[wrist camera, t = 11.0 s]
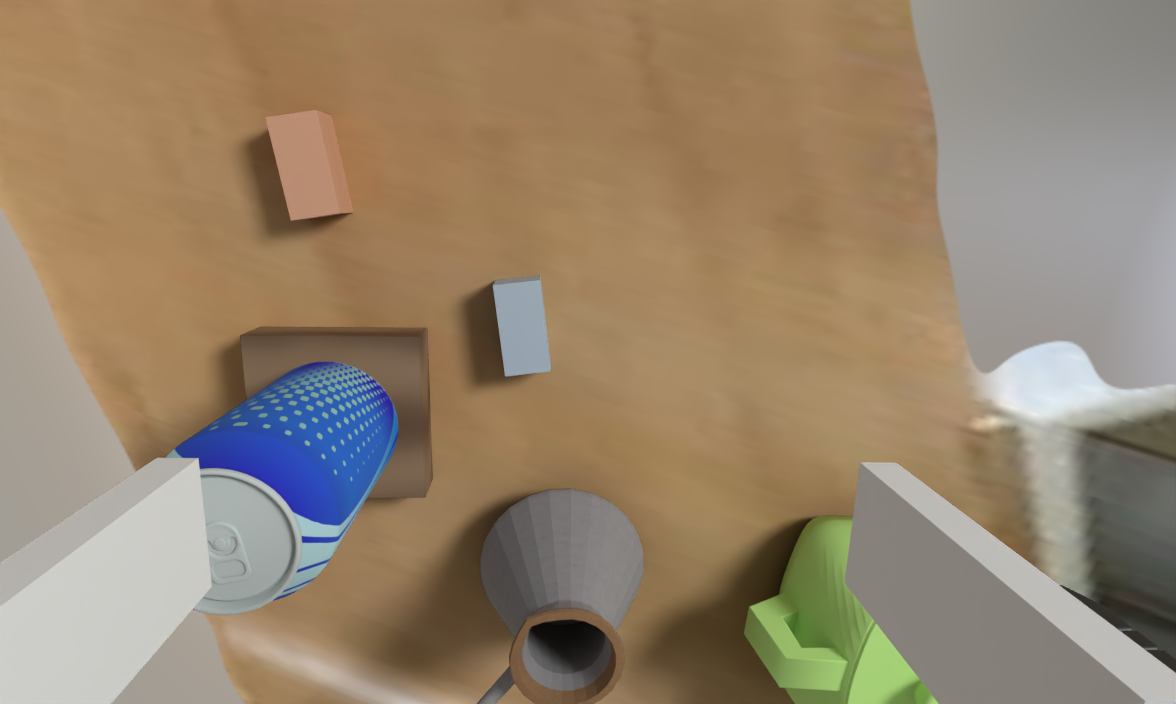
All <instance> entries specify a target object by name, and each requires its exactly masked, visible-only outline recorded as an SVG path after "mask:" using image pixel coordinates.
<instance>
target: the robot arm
mask: <svg viewBox="0 0 1176 704" xmlns="http://www.w3.org/2000/svg"><path fill="white" fill-rule="evenodd" d="M844 583H845V584H846V585H847V587H848V588H849V589H850V591H851V592H852V593H853V594H854V596H855V597H856V598H857V600H858V601H859V602H860V603H861V605H862V606H863V607H864V608H865V610H866V611H867V612H868V614H869V615H870V616H871V617H872V619H873V620H874V621H875V623H876V624H877V625H878V626H879V628H880V629H881V630H882V632H883V633H884V634H885V635H886V637H887V638H888V639H889V641H890V642H891V643H892V644H893V646H894V647H895V648H896V650H897V651H898V652H899V653H900V655H901V656H902V657H903V659H904V660H905V661H906V662H907V664H908V665H909V666H910V667H911V669H912V670H913V671H914V673H915V674H916V675H917V676H918V678H919V679H920V680H921V682H922V683H923V684H924V685H925V687H926V688H927V689H928V691H929V692H930V693H931V694H932V696H933V697H934V698H935V700H936V701H937V702H938V703H939V704H1176V659H1174V658H1173V657H1172V656H1170V655H1169V654H1168V653H1166V652H1165V651H1159V650H1158V649H1157V645H1155V644H1154V643H1153V642H1151V641H1150V640H1148V639H1147V638H1146V637H1144V636H1143V635H1142V634H1140V633H1139V632H1138V631H1132V630H1131V626H1129V625H1128V624H1127V623H1125V622H1124V621H1122V620H1121V619H1120V618H1118V617H1117V616H1116V615H1114V614H1113V613H1111V612H1110V611H1109V610H1107V609H1106V608H1105V607H1103V606H1102V605H1101V604H1099V603H1097V602H1095V601H1093V600H1091V599H1089V598H1087V597H1085V596H1083V595H1081V594H1079V593H1077V592H1075V591H1073V590H1071V589H1069V588H1066V587H1064V586H1062V585H1058V584H1057V583H1055V582H1054V581H1053V580H1051V579H1050V578H1049V577H1047V576H1046V575H1045V574H1043V573H1042V572H1041V571H1039V570H1038V569H1037V568H1036V567H1034V566H1033V565H1032V564H1030V563H1029V562H1028V561H1026V560H1025V559H1024V558H1022V557H1021V556H1020V555H1018V554H1017V553H1016V552H1014V551H1013V550H1012V549H1010V548H1009V547H1008V546H1006V545H1005V544H1004V543H1002V542H1001V541H1000V540H998V539H997V538H996V537H994V536H993V535H992V534H990V533H989V532H988V531H986V530H985V529H984V528H982V527H981V526H980V525H978V524H977V523H976V522H974V521H973V520H972V519H970V518H969V517H968V516H966V515H965V514H964V513H962V512H961V511H960V510H958V509H957V508H956V507H954V506H953V505H952V504H950V503H949V502H948V501H946V500H945V499H944V498H942V497H941V496H940V495H938V494H937V493H936V492H934V491H933V490H932V489H930V488H929V487H928V486H926V485H925V484H924V483H922V482H921V481H920V480H918V479H917V478H916V477H914V476H913V475H912V474H910V473H909V472H908V471H906V470H905V469H904V468H902V467H901V466H900V465H899V464H897V463H860V469H859V477H858V484H857V491H856V499H855V506H854V514H853V521H852V529H851V536H850V544H849V551H848V559H847V566H846V574H845V581H844ZM211 587H212V582H211V573H210V563H209V554H208V544H207V535H206V525H205V516H204V506H203V497H202V487H201V478H200V468H199V459H198V458H156V459H154V460H153V461H151V462H150V463H148V464H147V465H145V466H144V467H142V468H141V469H139V470H138V471H136V472H135V473H133V474H132V475H130V476H129V477H127V478H126V479H124V480H123V481H122V482H120V483H118V484H117V485H115V486H114V487H112V488H111V489H110V490H108V491H107V492H105V493H103V494H102V495H100V496H99V497H97V498H96V499H94V500H93V501H91V502H90V503H89V504H87V505H86V506H84V507H83V508H81V509H80V510H78V511H76V512H75V513H73V514H72V515H71V516H69V517H68V518H66V519H65V520H63V521H62V522H60V523H59V524H57V525H56V526H54V527H53V528H51V529H50V530H48V531H47V532H45V533H44V534H42V535H41V536H39V537H38V538H36V539H35V540H33V541H32V542H30V543H29V544H27V545H26V546H24V547H23V548H21V549H20V550H18V551H17V552H15V553H14V554H12V555H11V556H9V557H8V558H6V559H5V560H3V561H2V562H0V704H111V703H112V702H113V701H114V700H115V699H116V698H117V696H118V695H119V694H120V693H121V692H122V691H123V689H124V688H125V687H126V686H127V685H128V684H129V682H130V681H131V680H132V679H133V678H134V677H135V675H136V674H137V673H138V672H139V671H140V670H141V668H142V667H143V666H144V665H145V664H146V663H147V662H148V660H149V659H150V658H151V657H152V656H153V655H154V653H155V652H156V651H157V650H158V649H159V648H160V646H161V645H162V644H163V643H164V642H165V641H166V639H167V638H168V637H169V636H170V635H171V634H172V632H173V631H174V630H175V629H176V628H177V626H178V625H179V624H180V623H181V622H182V621H183V619H184V618H185V617H186V616H187V615H188V614H189V613H190V611H191V610H192V609H193V608H194V607H195V606H196V604H197V603H198V602H199V601H200V600H201V599H202V598H203V596H204V595H205V594H206V593H207V592H208V591H209V589H210V588H211Z"/></svg>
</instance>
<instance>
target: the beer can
mask: <svg viewBox="0 0 1176 704" xmlns="http://www.w3.org/2000/svg"><path fill="white" fill-rule="evenodd" d="M397 439H398V419H397V414H396V411H395V408H394V405H393V403H392V401H391V399H390V397H389V396H388V394H387V393H386V391H385V390H384V389H383V387H382V386H381V385H380V384H379V383H378V382H377V381H376V380H374V379H373V378H372V377H371V376H369V375H368V374H366V373H365V372H363V371H361V370H359V369H357V368H355V367H353V366H350V365H347V364H343V363H338V362H327V361H325V362H313V363H309V364H305V365H302V366H299V367H297V368H294V369H292V370H291V371H289V372H287V373H286V374H284V375H283V376H281V377H280V378H278V379H277V380H275V381H274V382H272V383H271V384H269V385H268V386H266V387H265V388H263V389H262V390H260V391H259V392H258V393H256V394H255V395H253V396H252V397H250V398H249V399H247V400H246V401H244V402H243V403H241V404H240V405H238V406H237V407H235V408H234V409H232V410H231V411H229V412H228V413H226V414H225V415H223V416H222V417H220V418H219V419H217V420H216V421H214V422H213V423H211V424H210V425H208V426H207V427H205V428H204V429H202V430H201V431H199V432H198V433H196V434H195V435H193V436H192V437H190V438H189V439H187V440H186V441H184V442H183V443H182V444H180V445H179V446H177V447H176V448H175V449H174V450H172V451H171V452H170V453H169V454H168V455H167V456H166V457H165V458H198V459H199V468H200V478H201V487H202V497H203V506H204V516H205V525H206V535H207V544H208V554H209V563H210V573H211V582H212V587H211V588H210V589H209V591H208V592H207V593H206V594H205V595H204V596H203V598H202V599H201V600H200V601H199V602H198V603H197V604H196V606H195V607H194V608H193V610H196V611H199V612H203V613H208V614H215V615H234V614H241V613H245V612H249V611H252V610H255V609H258V608H260V607H262V606H264V605H266V604H268V603H270V602H271V601H273V600H277V599H280V598H283V597H285V596H288V595H290V594H292V593H294V592H296V591H298V590H299V589H301V588H303V587H304V586H306V585H307V584H309V583H310V582H311V581H312V580H313V579H314V578H315V577H316V576H317V575H318V574H319V573H320V572H321V571H322V570H323V569H324V567H325V566H326V565H327V564H328V562H329V560H330V559H331V557H332V555H333V554H334V552H335V550H336V549H337V547H338V545H339V544H340V542H341V540H342V539H343V537H344V535H345V534H346V532H347V530H348V529H349V527H350V525H351V524H352V522H353V520H354V519H355V517H356V515H357V514H358V512H359V510H360V509H361V507H362V505H363V503H364V502H365V500H366V498H367V497H368V495H369V493H370V492H371V490H372V488H373V487H374V485H375V483H376V482H377V480H378V478H379V477H380V475H381V473H382V472H383V470H384V468H385V467H386V465H387V463H388V462H389V460H390V458H391V456H392V454H393V452H394V450H395V447H396V443H397Z"/></svg>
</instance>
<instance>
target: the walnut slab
mask: <svg viewBox="0 0 1176 704" xmlns="http://www.w3.org/2000/svg"><path fill="white" fill-rule="evenodd" d="M240 341H241V351H242V361H243V371H244V381H245V391H246V400H247V399H249V398H250V397H252V396H253V395H255V394H256V393H258V392H259V391H260V390H262V389H263V388H265V387H266V386H268V385H269V384H271V383H272V382H274V381H275V380H277V379H278V378H280V377H281V376H283V375H284V374H286V373H287V372H289V371H291V370H292V369H294V368H297V367H299V366H302V365H305V364H309V363H313V362H325V361H327V362H338V363H343V364H347V365H350V366H353V367H355V368H357V369H359V370H361V371H363V372H365V373H366V374H368V375H369V376H371V377H372V378H373V379H374V380H376V381H377V382H378V383H379V384H380V385H381V386H382V387H383V389H384V390H385V391H386V393H387V394H388V396H389V397H390V399H391V401H392V403H393V405H394V408H395V411H396V414H397V419H398V439H397V443H396V447H395V450H394V452H393V454H392V456H391V458H390V460H389V462H388V463H387V465H386V467H385V468H384V470H383V472H382V473H381V475H380V477H379V478H378V480H377V482H376V483H375V485H374V487H373V488H372V490H371V492H370V493H369V495H368V497H367V498H425V497H426V494H427V492H428V489H429V487H430V484H431V482H432V480H433V475H432V447H431V418H430V390H429V361H428V332H427V328H361V327H259V328H256V329H254V330H252V331H249V332H247V333H245V334H243V335H240Z"/></svg>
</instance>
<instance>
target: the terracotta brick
mask: <svg viewBox="0 0 1176 704" xmlns="http://www.w3.org/2000/svg"><path fill="white" fill-rule="evenodd" d="M265 118H266V122H267V126H268V130H269V134H270V138H271V142H272V146H273V150H274V154H275V158H276V163H277V167H278V171H279V175H280V179H281V183H282V187H283V191H284V195H285V199H286V203H287V207H288V211H289V215H290V219H291V221H294V220H307V219H314V218H320V217H327V216H333V215H340V214H347V213H353V209H352V205H351V200H350V196H349V191H348V187H347V182H346V178H345V173H344V169H343V165H342V160H341V156H340V151H339V147H338V142H337V138H336V134H335V129H334V125H333V120H332V116H330V115H328V114H325V113H323V112H321V111H318V110H313V111H306V112H299V113H292V114H285V115H278V116H272V117H265Z"/></svg>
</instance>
